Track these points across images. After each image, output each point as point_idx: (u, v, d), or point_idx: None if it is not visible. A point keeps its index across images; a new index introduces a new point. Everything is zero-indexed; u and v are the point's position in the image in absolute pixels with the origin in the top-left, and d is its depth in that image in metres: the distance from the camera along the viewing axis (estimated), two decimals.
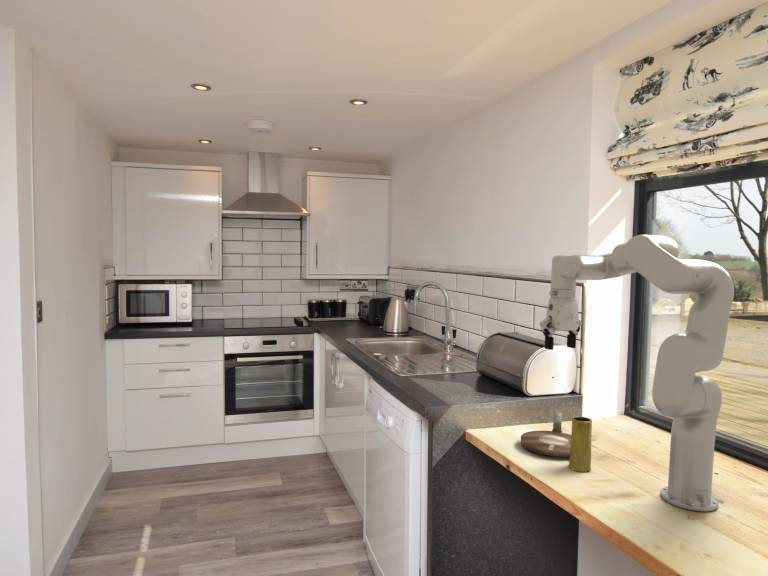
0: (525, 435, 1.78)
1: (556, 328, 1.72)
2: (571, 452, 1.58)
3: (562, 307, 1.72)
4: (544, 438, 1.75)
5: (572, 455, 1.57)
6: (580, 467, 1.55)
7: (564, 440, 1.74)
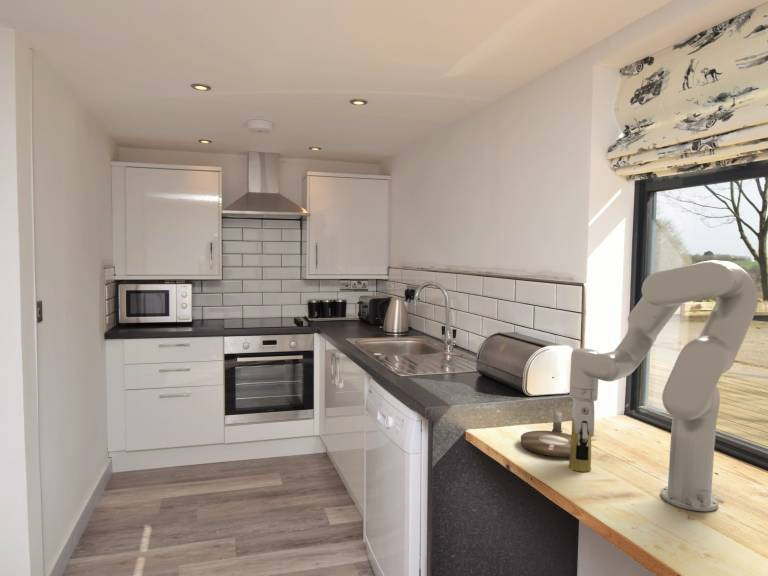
0: (525, 435, 1.78)
1: (593, 434, 1.53)
2: (571, 452, 1.58)
3: None
4: (544, 438, 1.75)
5: (572, 455, 1.57)
6: (580, 467, 1.55)
7: (564, 440, 1.74)
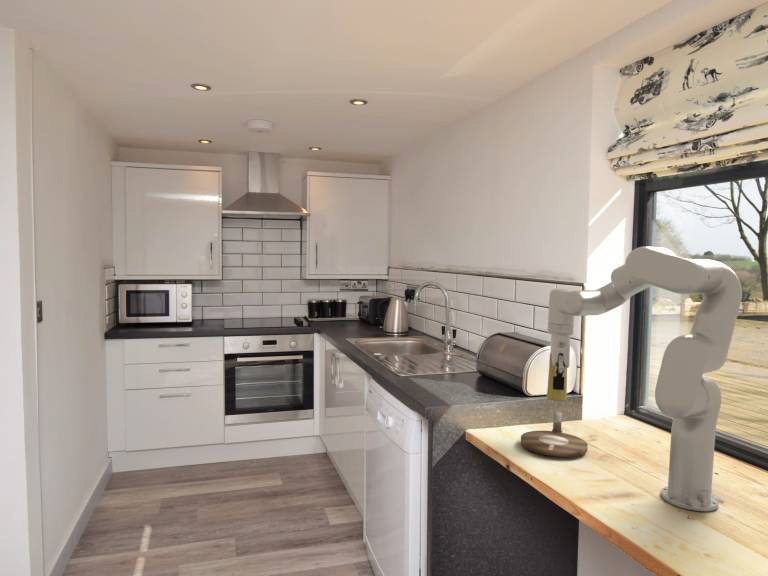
0: (525, 435, 1.78)
1: (568, 366, 1.67)
2: (548, 383, 1.72)
3: None
4: (544, 438, 1.75)
5: (549, 386, 1.71)
6: (556, 396, 1.70)
7: (564, 440, 1.74)
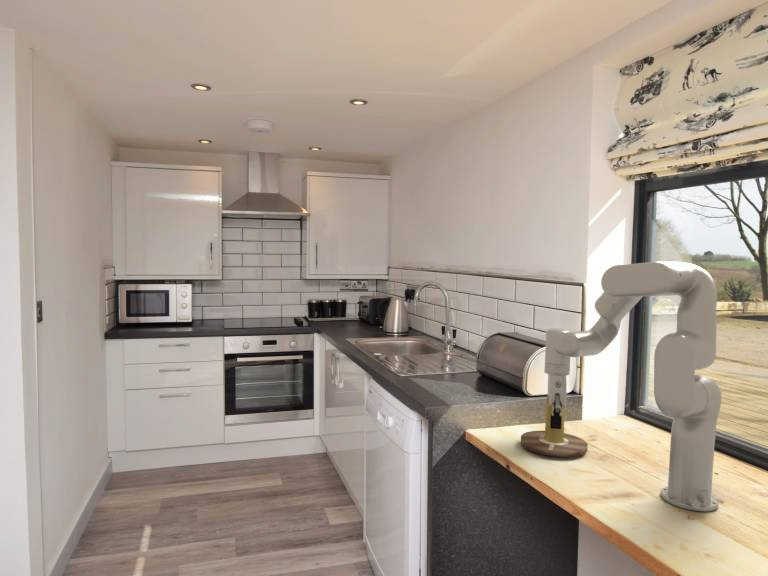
0: (525, 435, 1.78)
1: (565, 406, 1.68)
2: (546, 425, 1.73)
3: (566, 383, 1.70)
4: None
5: (547, 427, 1.73)
6: (554, 438, 1.71)
7: (564, 440, 1.74)
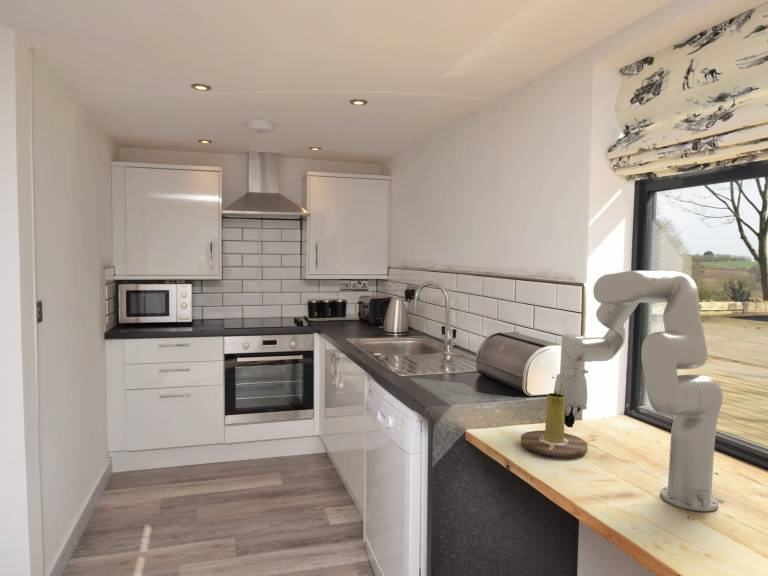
0: (525, 435, 1.78)
1: None
2: (546, 425, 1.73)
3: None
4: None
5: (547, 428, 1.73)
6: (554, 438, 1.71)
7: (564, 440, 1.74)
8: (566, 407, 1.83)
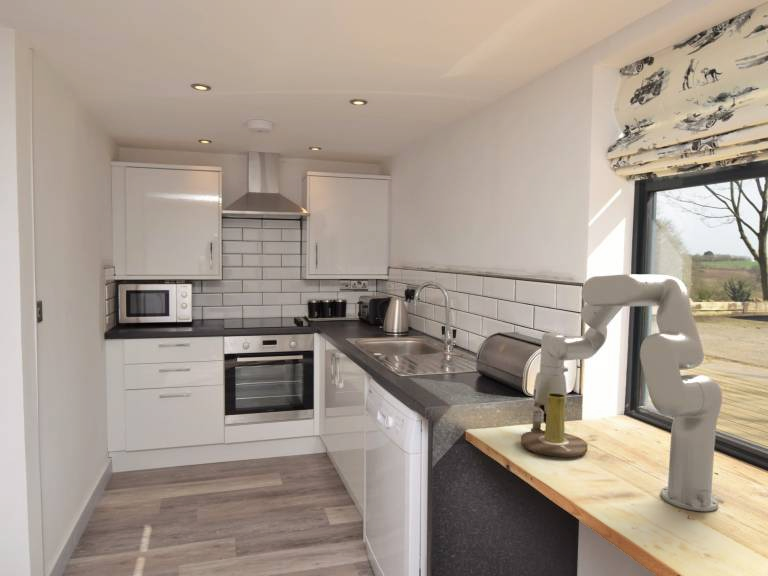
0: (526, 440, 1.73)
1: None
2: (550, 426, 1.72)
3: None
4: (545, 440, 1.74)
5: (552, 429, 1.71)
6: (559, 438, 1.71)
7: None
8: (545, 405, 1.84)
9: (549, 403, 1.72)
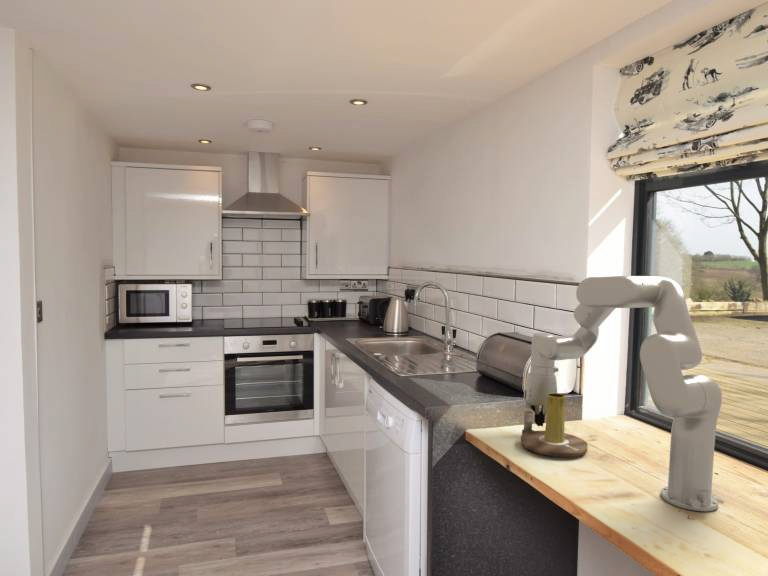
0: (530, 443, 1.71)
1: None
2: (552, 427, 1.71)
3: None
4: None
5: (554, 429, 1.71)
6: (562, 438, 1.72)
7: None
8: (536, 406, 1.83)
9: (551, 404, 1.72)
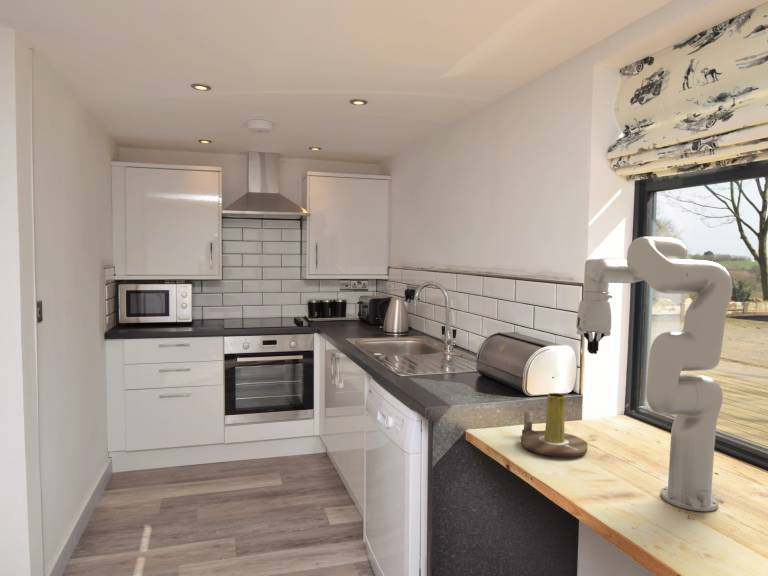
0: (530, 443, 1.71)
1: None
2: (552, 427, 1.71)
3: None
4: None
5: (554, 429, 1.71)
6: (562, 438, 1.72)
7: None
8: (590, 333, 1.80)
9: (551, 404, 1.72)
